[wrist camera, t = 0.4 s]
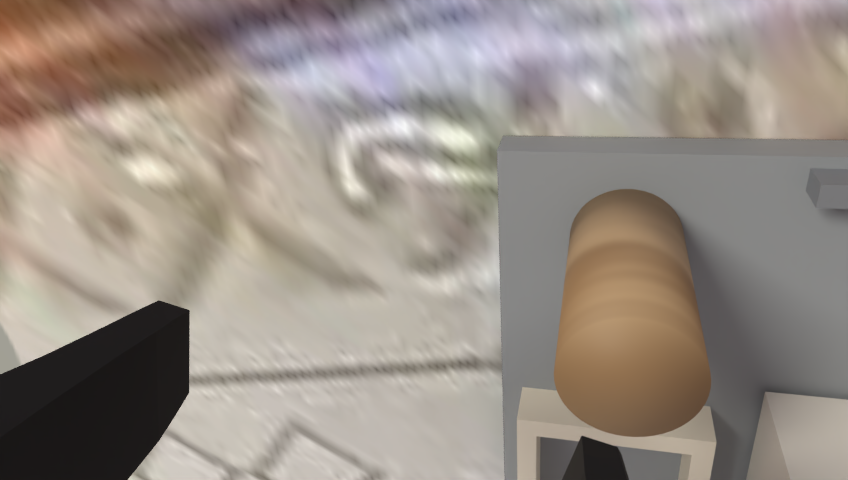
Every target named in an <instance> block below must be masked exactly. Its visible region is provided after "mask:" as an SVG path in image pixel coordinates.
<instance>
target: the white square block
mask: <svg viewBox="0 0 848 480" xmlns="http://www.w3.org/2000/svg"><path fill="white" fill-rule="evenodd" d="M746 480H848V400H846V399H836V398H826V397H816V396H805V395H795V394H785V393H775V392H765V394H764V399H763V403H762V408H761V413H760V417H759V422H758V427H757V431H756V436H755V441H754V445H753V450H752V454H751V459H750V464H749V468H748V473H747V478H746Z"/></svg>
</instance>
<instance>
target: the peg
mask: <svg viewBox="0 0 848 480" xmlns="http://www.w3.org/2000/svg"><path fill="white" fill-rule="evenodd" d="M554 382H555V386H556V390H557V392H558V395H559V396H560V398H561V400H562V402H563V403H564V404H565V406H566V407H567V408H568V409H569V410H570V411H571V412H572V413H573V414H574V415H575V416H576V417H578V418H579V419H580V420H581V421H583V422H585V423H586V424H588V425H590V426H592V427H594V428H596V429H598V430H601V431H604V432H607V433H611V434H614V435H620V436H627V437H647V436H655V435H659V434H664V433H667V432H670V431H673V430H675V429H677V428H679V427H681V426H683V425H684V424H686V423H688V422H689V421H690V420H691V419H693V418H694V417H695V416H696V415H697V414H698V413H699V412H700V411H701V409H702V408H703V406H704V405H705V403H706V401H707V399H708V397H709V393H710V389H711V373H710V368H709V362H708V357H707V352H706V347H705V341H704V336H703V331H702V326H701V321H700V315H699V310H698V305H697V300H696V294H695V289H694V284H693V279H692V274H691V268H690V263H689V258H688V253H687V247H686V242H685V237H684V232H683V227H682V224H681V221H680V219H679V217H678V215H677V213H676V212H675V210H674V209H673V208H672V207H671V206H670V205H669V204H668V203H667V202H665V201H664V200H663V199H661V198H660V197H658V196H656V195H654V194H652V193H649V192H646V191H641V190H636V189H619V190H613V191H609V192H606V193H603V194H601V195H598V196H597V197H595V198H593V199H592V200H590V201H589V202H587V203H586V204H585V205H584V206H583V207H582V208H581V209H580V211H579V212H578V213H577V215H576V217H575V218H574V221H573V223H572V226H571V230H570V238H569V247H568V256H567V264H566V273H565V281H564V290H563V298H562V307H561V315H560V324H559V332H558V341H557V349H556V358H555V366H554Z"/></svg>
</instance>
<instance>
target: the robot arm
mask: <svg viewBox="0 0 848 480" xmlns="http://www.w3.org/2000/svg"><path fill="white" fill-rule="evenodd" d="M188 393H189V310H187V309H184V308H181V307H178V306H174V305H171V304H168V303H165V302H162V301H157V302H155V303H152V304H150V305H148V306H146V307H144V308H142V309H140V310H137V311H135V312H133V313H131V314H129V315H127V316H125V317H123V318H121V319H119V320H117V321H115V322H113V323H111V324H109V325H107V326H105V327H103V328H101V329H99V330H97V331H95V332H93V333H91V334H89V335H86V336H84V337H82V338H80V339H78V340H76V341H74V342H72V343H70V344H67V345H65V346H63V347H61V348H59V349H57V350H55V351H53V352H51V353H49V354H46V355H44V356H42V357H40V358H38V359H35V360H33V361H31V362H28V363H26V364H24V365H21V366H19V367H17V368H14V369H12V370H10V371H7V372H5V373H3V374H0V480H128V478H129V477H130V476H131V475H132V473H133V472H134V471H135V470H136V469H137V467H138V466H139V465H140V464H141V462H142V461H143V460H144V459H145V457H146V456H147V455H148V454H149V452H150V451H151V450H152V449H153V447H154V446H155V445H156V444H157V442H158V441H159V440H160V438H161V437H162V435H163V434H164V432H165V430H166V429H167V427H168V426H169V424H170V423H171V421H172V420H173V418H174V416H175V415H176V413H177V412H178V410H179V408H180V407H181V405H182V403H183V402H184V400H185V398H186V397H187V395H188ZM562 480H629V477H628V474H627V471H626V468H625V464H624V461H623V458H622V454H621V452H620V450H619V449H618V447H616V446H613V445H610V444H607V443H604V442H601V441H597V440H594V439H591V438H588V437H585V436H581V438H580V440H579V442H578V445H577V447H576V449H575V451H574V454H573V456H572V458H571V460H570V463H569V465H568V467H567V469H566V472H565V474H564V476H563V478H562Z"/></svg>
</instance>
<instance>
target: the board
mask: <svg viewBox="0 0 848 480" xmlns="http://www.w3.org/2000/svg"><path fill="white" fill-rule="evenodd" d="M497 169H498V213H499V256H500V299H501V342H502V385H503V428H504V472H505V480H562V478H563V476H564V474H565V472H566V469H567V467H568V465H569V463H570V460H571V458H572V456H573V454H574V451H575V449H576V447H577V445H578V442H579V440H580V438H581V436H585V437H588V438H591V439H594V440H597V441H601V442H604V443H607V444H610V445H613V446H616V447H618V449H619V450H620V452H621V454H622V458H623V461H624V464H625V468H626V471H627V474H628V477H629V480H746V478H747V473H748V468H749V464H750V459H751V454H752V450H753V445H754V441H755V436H756V431H757V427H758V422H759V417H760V413H761V408H762V403H763V399H764V394H765V392H775V393H785V394H795V395H805V396H816V397H826V398H836V399H846V400H848V140H796V139H717V138H639V137H561V136H503V138H502V140H501V143H500V145H499V147H498V150H497ZM619 189H636V190H641V191H646V192H649V193H652V194H654V195H656V196H658V197H660V198H661V199H663V200H664V201H665V202H667V203H668V204H669V205H670V206H671V207H672V208H673V209H674V210H675V212H676V213H677V215H678V217H679V219H680V221H681V224H682V227H683V232H684V237H685V242H686V247H687V253H688V258H689V263H690V268H691V274H692V279H693V284H694V289H695V294H696V300H697V305H698V310H699V315H700V321H701V326H702V331H703V336H704V341H705V347H706V352H707V357H708V362H709V368H710V373H711V389H710V393H709V397H708V399H707V401H706V403H705V405H704V406H703V408H702V409H701V411H700V412H699V413H698V414H697V415H696V416H695V417H694V418H693V419H691V420H690V421H689V422H688V423H686V424H684V425H683V426H681V427H679V428H677V429H675V430H673V431H670V432H667V433H664V434H659V435H655V436H647V437H627V436H620V435H614V434H611V433H607V432H604V431H601V430H598V429H596V428H594V427H592V426H590V425H588V424H586V423H585V422H583V421H581V420H580V419H579V418H578V417H576V416H575V415H574V414H573V413H572V412H571V411H570V410H569V409H568V408H567V407H566V406H565V404H564V403H563V402H562V400H561V398H560V396H559V395H558V392H557V390H556V386H555V382H554V366H555V358H556V349H557V341H558V332H559V324H560V315H561V307H562V298H563V290H564V281H565V273H566V264H567V256H568V247H569V238H570V230H571V226H572V223H573V221H574V218H575V217H576V215H577V213H578V212H579V211H580V209H581V208H582V207H583V206H584V205H585V204H586V203H587V202H589V201H590V200H592V199H593V198H595V197H597V196H598V195H601V194H603V193H606V192H609V191H613V190H619Z"/></svg>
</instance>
